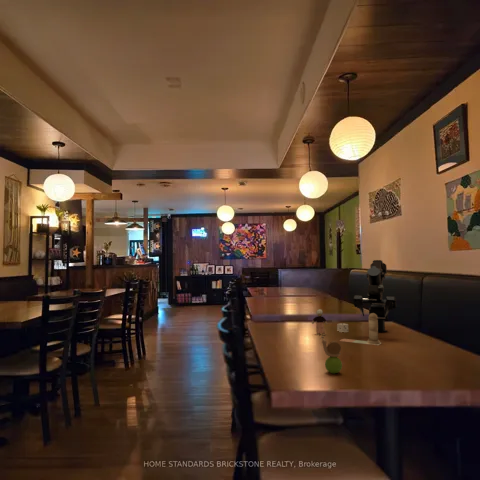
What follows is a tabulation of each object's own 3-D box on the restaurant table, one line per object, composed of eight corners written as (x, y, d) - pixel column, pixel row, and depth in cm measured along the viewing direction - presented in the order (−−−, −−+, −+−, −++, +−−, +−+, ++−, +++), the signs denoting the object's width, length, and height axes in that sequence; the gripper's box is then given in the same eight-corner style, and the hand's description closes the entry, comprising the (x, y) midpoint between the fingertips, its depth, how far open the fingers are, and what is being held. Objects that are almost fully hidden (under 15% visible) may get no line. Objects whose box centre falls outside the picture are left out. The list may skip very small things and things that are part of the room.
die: (342, 330, 202) (342, 322, 203) (348, 332, 199) (348, 323, 199) (336, 331, 200) (336, 323, 200) (343, 332, 197) (342, 324, 197)
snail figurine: (320, 371, 128) (319, 334, 129) (338, 370, 128) (338, 334, 129) (325, 376, 123) (324, 338, 123) (344, 375, 123) (343, 337, 124)
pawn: (372, 341, 172) (372, 312, 173) (382, 343, 168) (381, 313, 168) (364, 342, 169) (364, 312, 170) (374, 345, 165) (373, 314, 166)
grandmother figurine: (327, 334, 193) (326, 308, 194) (328, 335, 189) (327, 309, 190) (311, 333, 194) (311, 308, 194) (312, 335, 190) (311, 309, 191)
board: (383, 343, 169) (383, 342, 170) (379, 346, 164) (379, 345, 164) (342, 339, 180) (342, 338, 180) (337, 342, 174) (337, 340, 174)
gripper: (353, 278, 183) (350, 304, 173) (395, 279, 176) (395, 305, 165) (355, 293, 190) (353, 319, 179) (395, 295, 183) (396, 321, 172)
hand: (373, 316), depth 174 cm, fingers open, 9 cm apart
